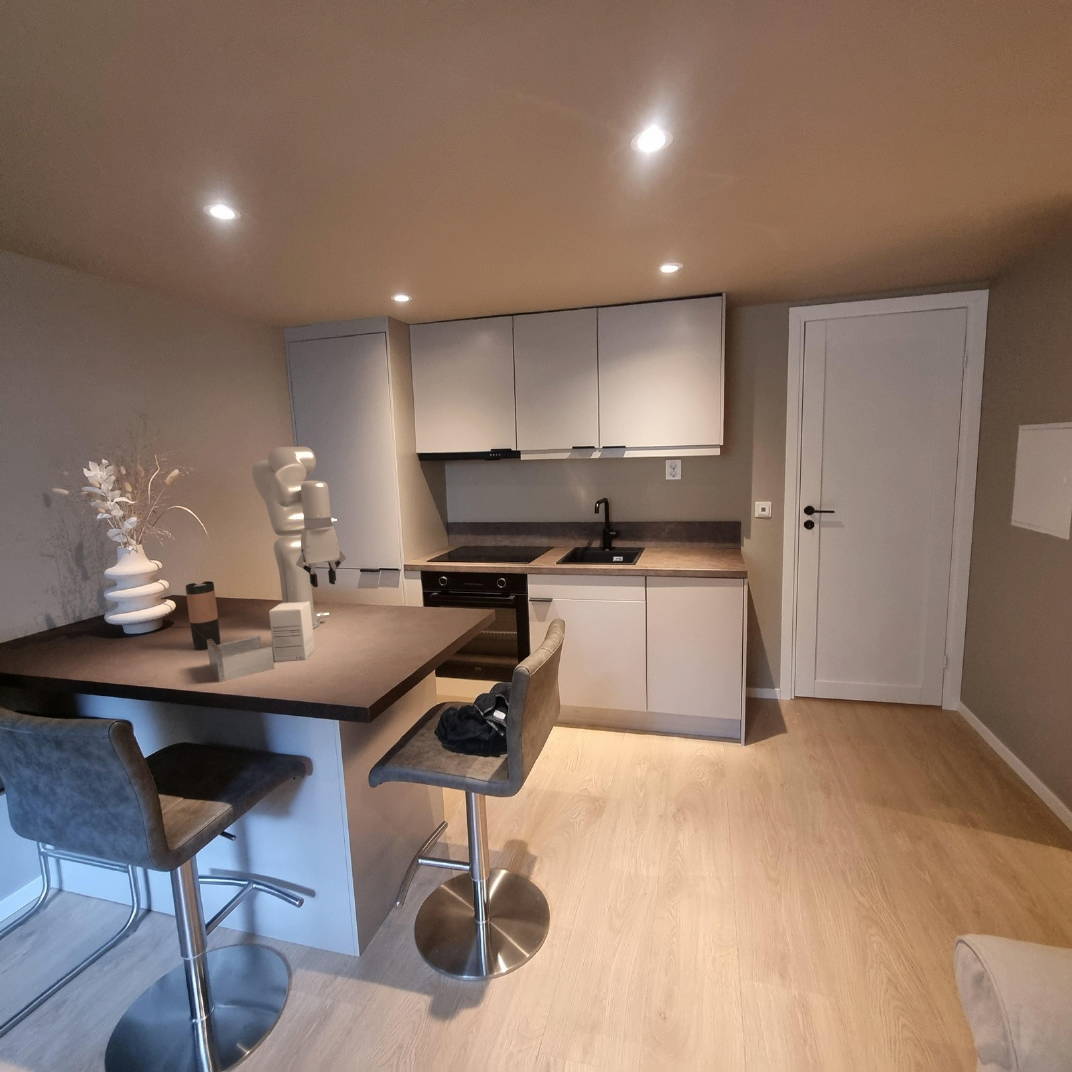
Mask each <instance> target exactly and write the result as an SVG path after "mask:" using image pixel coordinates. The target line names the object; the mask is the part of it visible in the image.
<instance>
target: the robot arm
mask: <svg viewBox="0 0 1072 1072" xmlns="http://www.w3.org/2000/svg"><path fill="white" fill-rule="evenodd" d="M316 466H317V459H316V455H315V453H314V451H313V450H312V449H311V448H309V447H308V446H279V447H278V446H277V447H275V448H273V449H271V450H270V451H269V453H268V455H267V459H261V460H259V461H256V462H255V463H254V464H253V466H252V468H251V476H252V481H253V484H254V486H255V488H256V490H257V492H258V493H259V495H260V497H261V498H262V499H263V501H264V503H265V507H266V510H267V512H268V518H269V521H270V523H271V524H270V525H271V527H272V529H273V532H274V533H275V534H276V535H277V536H279V537H280V538H277V539H276V541H275V542H274V543H273V552H274V557H275V560H276V564H277V567H278V573H279V581H280V591H281V601H282V602H281V603H293V602H308V601H309V602H310V608H311V617H312V626H313V629H316V628H318V627H319V626H320V625H321V622H320V620H321V619H323V618H324V619H325V618H329V617H330V613H329V611H325V612H323V611H318V612H317V611H315V609H314V606H315V605H314V599H313V598H314V597H313V588H312V587H314V588H318V586H319V583H318V575H317V573H316V567H317V566H316V565H317V564H321V563H327V565H328V567H329V569H328V570H327V574H328V580H329V581H328V583H329V584H331V585H336V581H337V573H336V571H337V569H338V568H339V567H340V566H341V564H342V563H343V562H345V561H346V559H347V557H346V555H344V554H343V553H342V551H341V549H340V547H339V541H338V537H337V532H336V529H335V527H334V526H333V524H335V523H337V518H334V517H332V514H331V504H330V493H329V492H330V491H329V485H328V483H326V482H325V481H320V480H307V479H308V478H309V477H310V476H311V474H313V472H314V470H315V469H316ZM281 536H282V537H281ZM305 563H306V564H308V565H306V564H305Z"/></svg>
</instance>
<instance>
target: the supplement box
mask: <svg viewBox="0 0 1072 1072" xmlns="http://www.w3.org/2000/svg"><path fill="white" fill-rule="evenodd" d="M268 614H269V615H268V616H269V621H270V622H269V625H270V631H271V633H270V634H271V640H272V641H271V642H272V652H273V661H274V663H275V662H277V663H278V662H291V661H303V660H307V659H308V658H309V657H310V656H311V654H312V653H313V652H314V651H315V650H316V646H315V637H314V628H313V626H312V617H311V608H310V602H309V601H308V602H293V603H283V602H281V603H279V604H277V605H276V606H275V607H273V608H272V609H270V610H269V611H268Z"/></svg>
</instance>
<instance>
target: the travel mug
mask: <svg viewBox="0 0 1072 1072" xmlns="http://www.w3.org/2000/svg"><path fill="white" fill-rule="evenodd" d="M185 593H186V594H185V595H186V601H187V609H188V618H189V619H188V620H189V627H190V631H191V632H190V633H191V638H192V644H193V649H194V650H196V651H206V650H207V651H208V645H207V640H208V639H212V640H213V641H214V642H215V644H216V645H219V644H221V635H220V623H219V614H218V613H219V612H218V606H217V599H216V592H215V584H214V582H213V581H203V582H202V583H195V582H193V583H189V584H186V585H185Z"/></svg>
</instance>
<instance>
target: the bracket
mask: <svg viewBox="0 0 1072 1072" xmlns="http://www.w3.org/2000/svg"><path fill="white" fill-rule="evenodd" d="M207 645H208V649H207V651H208V652H207V653H208V658H209V659H208V660H209V667H210V670H211V671H212V672H213V674H214V676H215V677H216V678H217V680H218V682H219V683H221V682H225V681H230V680H234V679H237V678H241V677H242V678H243V677H246V676H250V675H255V674H258V673H262V672H266V671H272V670H274V669H275V661H274V652H273V646H266V647H263V646H262V641H261V636H260V635H257V636H253V637H248V638H244V639H239V640H233V641H228V642H225V643H220V644H219V645H216V644H215V642H214V641H213V640H212V639H208V640H207ZM262 647H263V648H262Z"/></svg>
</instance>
